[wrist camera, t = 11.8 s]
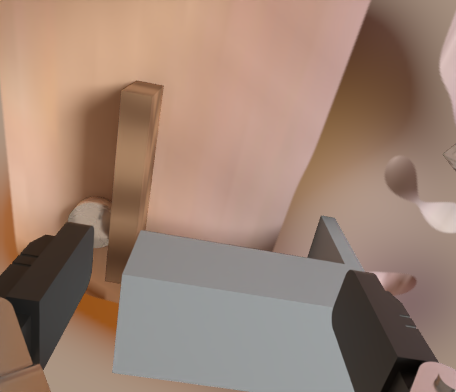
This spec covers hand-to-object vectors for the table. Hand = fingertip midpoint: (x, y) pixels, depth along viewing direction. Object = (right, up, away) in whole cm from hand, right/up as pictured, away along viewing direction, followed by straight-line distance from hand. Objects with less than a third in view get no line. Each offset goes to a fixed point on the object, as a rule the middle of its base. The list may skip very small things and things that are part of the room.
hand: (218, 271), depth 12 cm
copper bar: (-8, +5, +27) cm, 28 cm away
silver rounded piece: (-13, 0, +29) cm, 32 cm away
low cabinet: (+1, -2, +29) cm, 30 cm away
